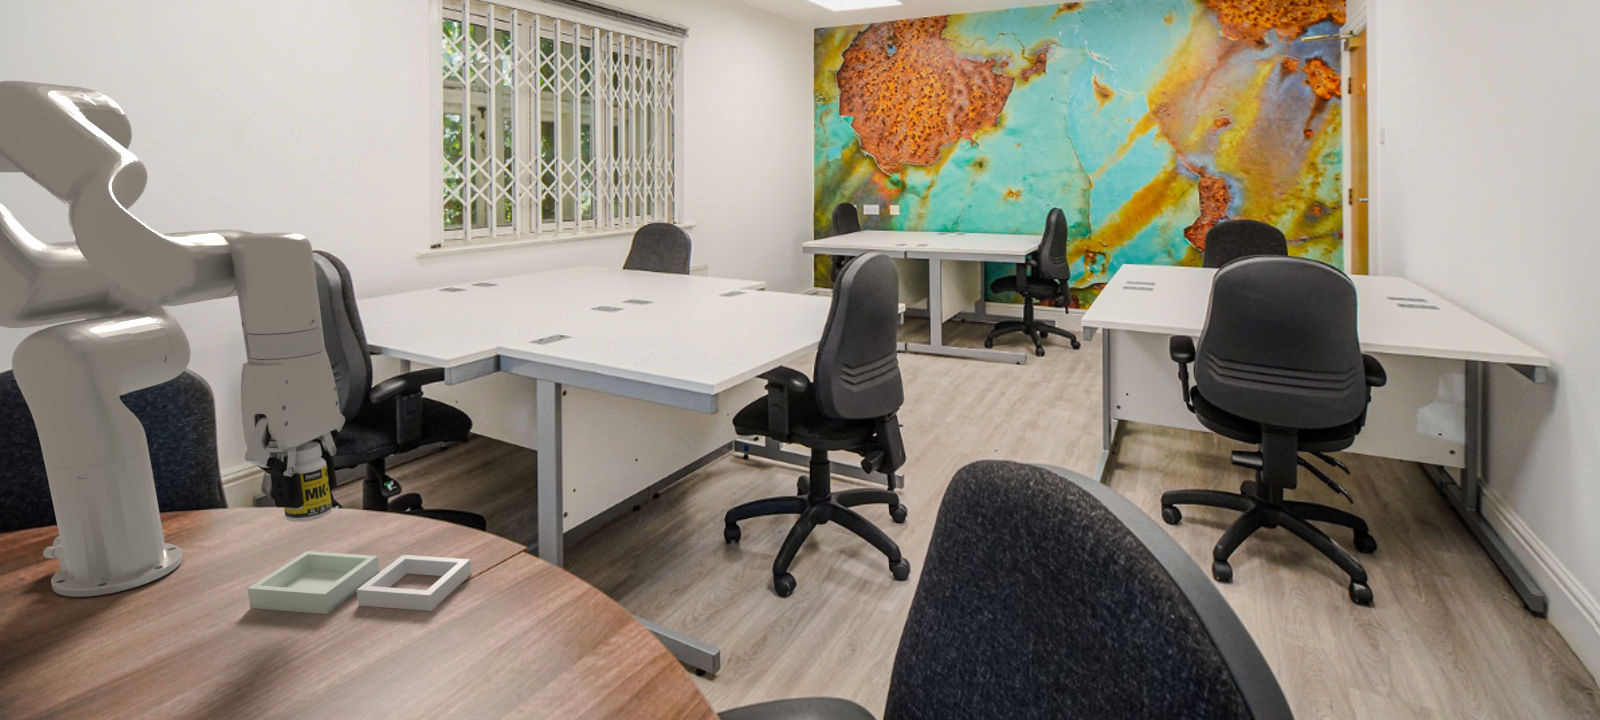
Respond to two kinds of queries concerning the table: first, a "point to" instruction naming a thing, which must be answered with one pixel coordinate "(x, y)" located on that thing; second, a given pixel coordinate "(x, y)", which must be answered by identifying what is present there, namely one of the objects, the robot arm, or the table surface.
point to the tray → (313, 582)
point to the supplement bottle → (311, 484)
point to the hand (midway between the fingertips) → (306, 495)
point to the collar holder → (384, 596)
